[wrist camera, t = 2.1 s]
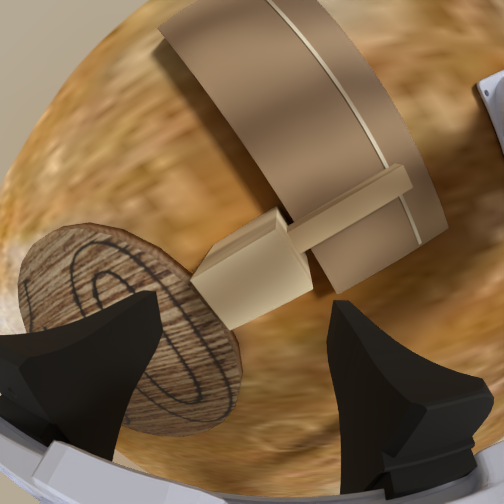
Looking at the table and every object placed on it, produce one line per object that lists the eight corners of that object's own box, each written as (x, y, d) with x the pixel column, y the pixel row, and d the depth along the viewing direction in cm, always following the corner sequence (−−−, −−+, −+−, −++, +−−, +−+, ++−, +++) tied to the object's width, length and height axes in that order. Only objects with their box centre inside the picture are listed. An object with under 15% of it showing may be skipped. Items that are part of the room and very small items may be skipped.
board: (438, 221, 17) (449, 228, 15) (333, 283, 19) (337, 295, 18) (276, -27, 12) (275, -39, 10) (166, 35, 14) (156, 27, 13)
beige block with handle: (400, 194, 17) (440, 213, 12) (231, 290, 20) (215, 337, 15) (376, 147, 16) (413, 148, 11) (202, 251, 20) (175, 288, 14)
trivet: (120, 429, 31) (115, 438, 29) (4, 282, 24) (-6, 289, 22) (289, 403, 25) (289, 418, 23) (137, 160, 18) (124, 162, 16)
